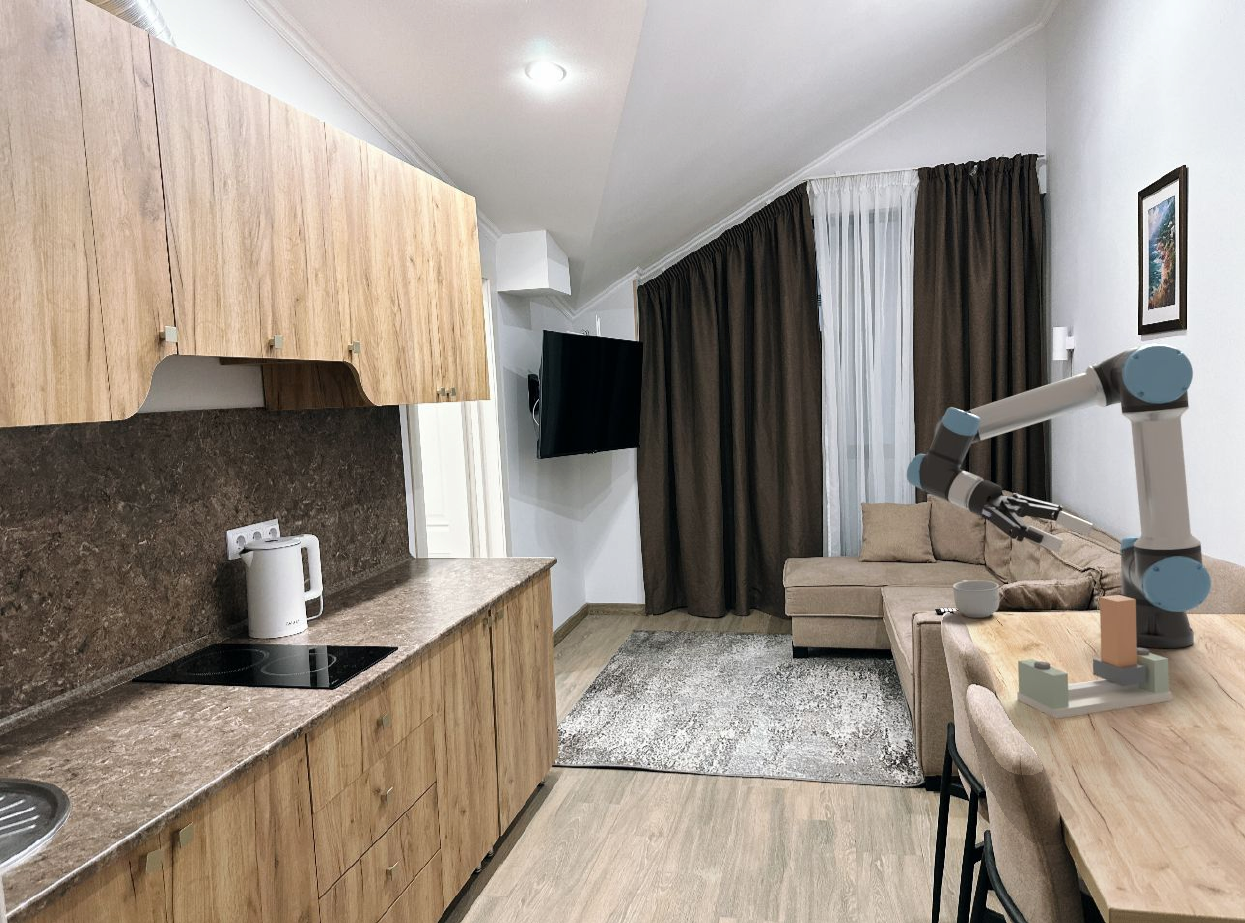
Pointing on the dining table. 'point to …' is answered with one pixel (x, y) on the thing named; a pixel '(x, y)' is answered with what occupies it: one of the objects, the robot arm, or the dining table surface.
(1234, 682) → the dining table surface
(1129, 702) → the rail bed
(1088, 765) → the dining table surface
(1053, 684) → the end cabinets
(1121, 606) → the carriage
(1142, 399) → the robot arm
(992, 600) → the teacup
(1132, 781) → the dining table surface
